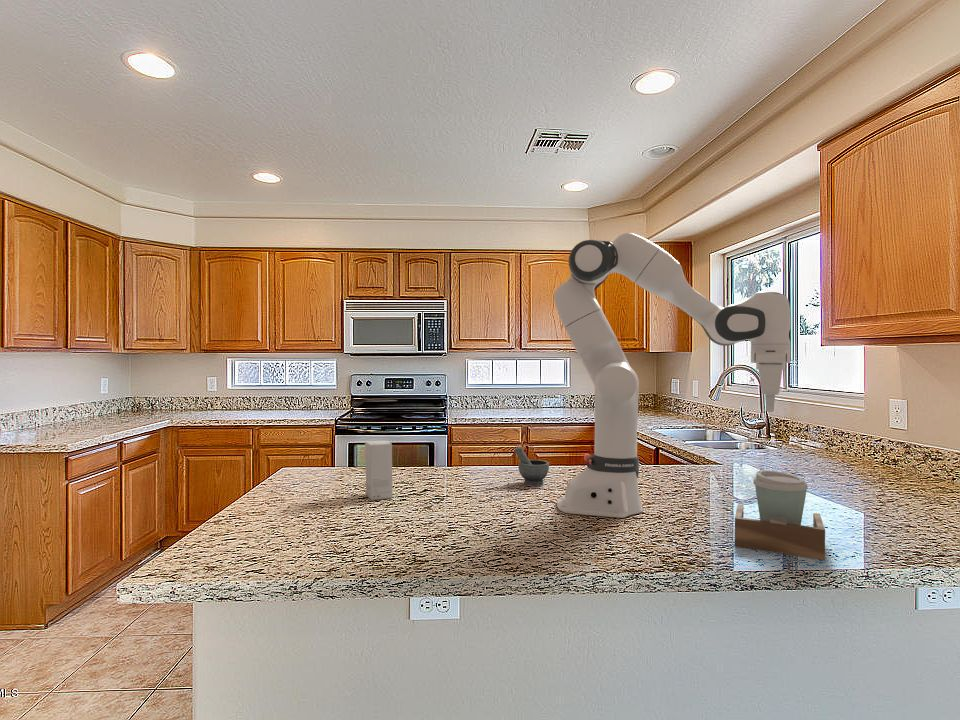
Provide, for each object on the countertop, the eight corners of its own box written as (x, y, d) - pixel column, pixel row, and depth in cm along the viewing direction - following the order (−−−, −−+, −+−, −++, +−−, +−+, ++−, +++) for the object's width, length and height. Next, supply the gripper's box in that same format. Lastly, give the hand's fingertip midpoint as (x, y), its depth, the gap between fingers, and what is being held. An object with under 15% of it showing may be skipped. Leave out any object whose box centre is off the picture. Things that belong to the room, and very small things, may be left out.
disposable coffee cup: (813, 542, 120) (813, 474, 120) (801, 555, 112) (802, 482, 112) (760, 532, 127) (761, 467, 127) (745, 543, 119) (746, 474, 119)
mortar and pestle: (546, 480, 179) (547, 444, 179) (551, 487, 169) (551, 448, 169) (512, 480, 178) (512, 444, 178) (515, 487, 169) (515, 448, 169)
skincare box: (392, 498, 154) (393, 443, 154) (369, 501, 152) (369, 444, 152) (386, 492, 162) (387, 439, 162) (364, 494, 159) (364, 440, 159)
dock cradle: (737, 529, 128) (737, 498, 128) (819, 540, 121) (819, 508, 121) (734, 546, 117) (734, 512, 117) (824, 559, 109) (825, 524, 109)
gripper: (756, 356, 148) (756, 407, 148) (755, 355, 130) (754, 414, 130) (783, 356, 145) (783, 408, 145) (785, 355, 127) (785, 415, 127)
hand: (769, 411), depth 137 cm, fingers closed
